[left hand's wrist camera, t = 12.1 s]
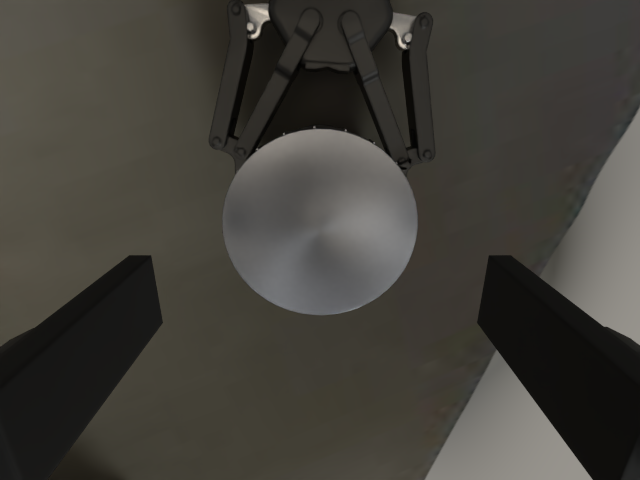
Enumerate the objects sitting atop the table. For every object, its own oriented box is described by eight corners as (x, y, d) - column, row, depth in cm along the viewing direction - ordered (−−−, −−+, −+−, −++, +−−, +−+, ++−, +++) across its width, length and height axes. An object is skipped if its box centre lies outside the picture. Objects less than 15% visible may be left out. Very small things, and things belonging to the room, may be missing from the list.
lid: (198, 237, 22) (184, 251, 20) (296, 83, 19) (293, 79, 17) (337, 324, 24) (339, 346, 22) (445, 197, 21) (460, 207, 19)
